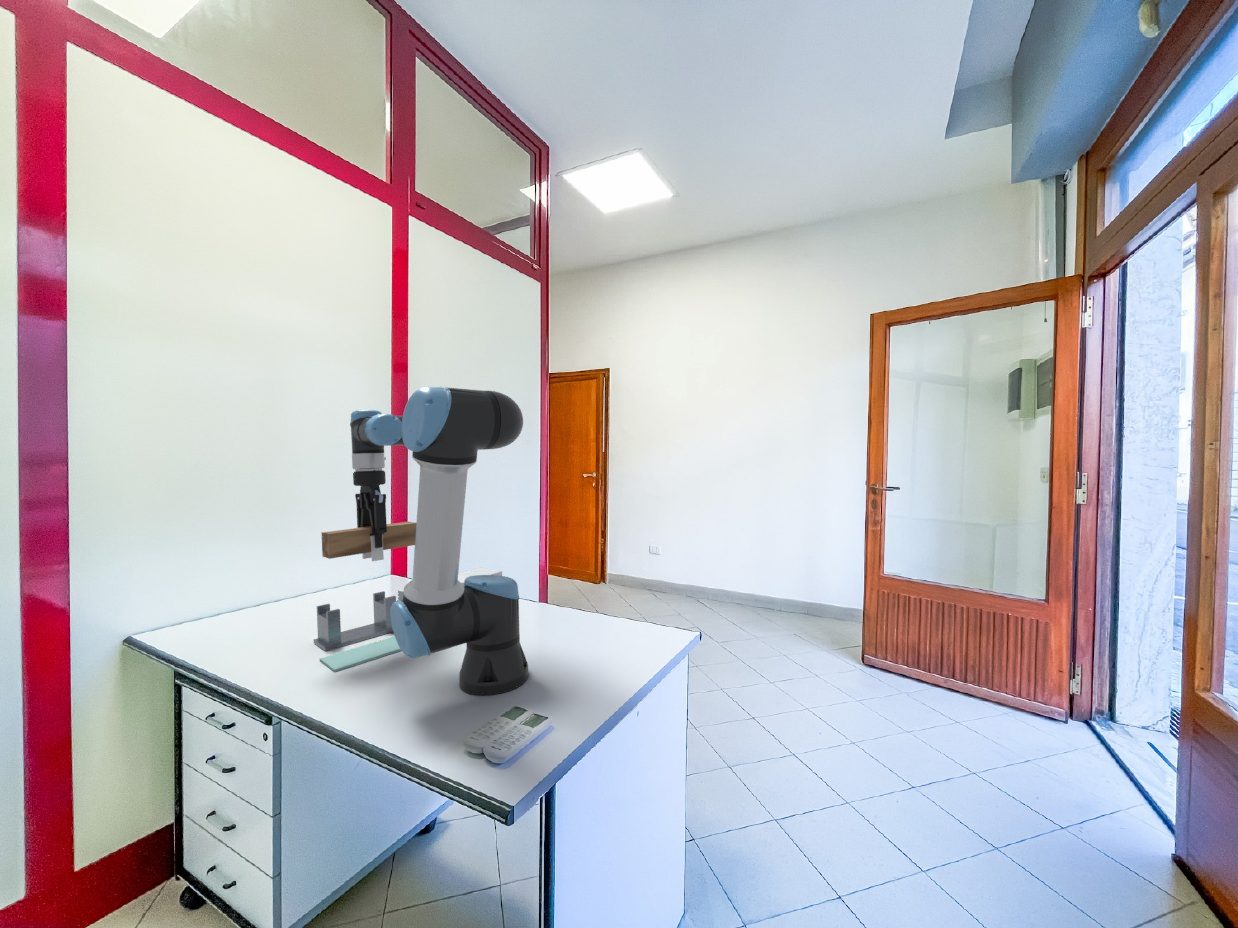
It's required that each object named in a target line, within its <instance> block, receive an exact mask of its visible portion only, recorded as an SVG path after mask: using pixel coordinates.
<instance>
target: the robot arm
mask: <svg viewBox="0 0 1238 928" xmlns="http://www.w3.org/2000/svg"><path fill="white" fill-rule="evenodd" d="M406 402H407V403H406V404H405V407H404V410H403V414H402V415H394V414H391V413H382V412H381V411H379V410H374V409H373V410H372V409H358V410H353V411H352V412H351V413H350V423H349V425H350V434H351V435H350V436H351V439H350V440H351V462H352V466H351V469H353V470H354V471H353V472H352V480H353V481H352V482H353V485H354V486H355V487H360V490H359V492H358V493H355V495H354V497H355V501H356V502H355V503H356V523H357V524H356V525H357V527H356V528H361V527H369V526H371V529H372V533H371V534H369V535H370V536H371V552H368V553H362V559H363V560H365V559H371V562H377V561H383V560H384V550H383V534H384V533H385V532H387V508H386V507H387V506H386V502H387V501H386V500H387V494H386V493H382V492H381V488H380V485H382V486H383V485H385V484H386V471H385V470H383V469H384V468H386V467H385V466H386V459H387V458H386V457H385V447H386V446H391V447H392V446H393V447H394V446H404V447H405V448H406V449H407V450H408V451H411V452H412V453H411V454H412V455H411V456H412V460H413V461H415V462H416V463H417V464H418V465H419V468H420V469H419V480H418V481H419V483H418V494H417V496H418V497H417V509H416V511H417V512H416V522H415V523H416V536H415V545H414V553H413V565H412V568H413V569H412V579H411V580H410V581H409V582H408V583H406V585H405V586H404V588H403V589H404V591H403V600H397V599H396V602H394V603H393V604H392V606H391V611H390V615H391V623H392V628H393V632H392V633H393V635H394V636H395V638H396V641H397V643H398V645H399V647H400V649H401V651H400V652H402V654H404V655H405V656H406V657H408V658H411V659H416V658H420V657H423V656H431V655H432V654H434V653H437V652H440V651H445V650H447V649H451V648H454V647H457V646H461V645H464V644H466V649H465V653H464V656H463V660H462V663H461V667H460V670H459V675H458V680H459V683H458V685H459V687H460V689H461V690H462V691H464V692H465V693H468V694H472V695H478V696H490V695H491V696H492V695H498V694H503V693H506V692H510V691H512V690H515V689H517V688H519V687H520V686H522V685H523V684H525V682H526V681H527V680H528V679H529V664H528V661H527V658H526V655H525V653H524V650H523V648H522V644H521V641H520V639H521V638H520V636H521V635H520V634H521V633H520V602H519V601H520V593H519V586H518V583H517V581H516V580H515V579H513V578H511V577H509V576H504V575H502V576H498V575H475V576H470V577H467V578H466V579H465V581H464V585H465V586H463V584H462V583H461V582H460V581H459V580H458V574H459V571H460V569H459V568H460V557H461V547H462V546H461V545H462V538H463V537H462V535H463V525H464V513H465V503H466V490H467V482H468V481H467V480H468V470H469V469H470V468H471V467H472V466H474V465H475V464H476V463H477V462H478V461H477V459H478V453H479V452H478V451H480V450H481V451H482V450H483V451H484V450H495V449H502V448H505V447H507V446H509V445H511V444H512V443H514V442H515V441H516V440H517V439H518V438H519V436H520V435H521V433H522V430H523V427H524V418H523V417H524V415H523V413H522V410H521V408H520V406H519V405H518V404H517V403H516V401H515V400H514V399H513V398H512V397H510V396H509V395H506V394H504V393H502V392H499V391H495V390H482V389H481V390H480V389H468V388H458V387H447V386H428V387H427V386H424V387H420V388H417V389H416V390H415V391H413V393H412V394H411V395H410V397H409V398H408V400H407V401H406Z"/></svg>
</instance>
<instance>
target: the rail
mask: <svg viewBox="0 0 1238 928" xmlns="http://www.w3.org/2000/svg"><path fill="white" fill-rule="evenodd" d="M386 524H387V523H386ZM371 533H372V529H371V526H369V527H361V528H357V527H356V528H354V527H353V528H347V529H340V530H339V529H338V530H331V531H322V532H321V553H322V557H323V558H326V559H330V560H331V559H336V558H343V557H349V556H354V555H361V554H362V553H368V552H371V536H370V535H369V534H371ZM415 536H416V522H415V521H401V522H395V523H388V524H387V532H385V533H384V534H383V551H387V550H392V549H399V548H405V547H410V546H415Z"/></svg>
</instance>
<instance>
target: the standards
mask: <svg viewBox="0 0 1238 928" xmlns="http://www.w3.org/2000/svg"><path fill="white" fill-rule="evenodd" d="M372 597H373V599H372V602H373V623H370V624H367V625H362V626H359V627H355V628H351V629H347V630H343V631H341V629H342V628H341V609H339V608H336V609H332V610H331V604H330V603H325V604H321V605H317V606H316V623H317V624H316V625H317V638H314V639H313V640H312V641H313V644H314V643H315V644H314V645H316V646H317V647H318V648H320V650H323V651H324V652H327V651H331V650H335V649H339V648H342V647H345V646H349V645H352V644H356V643H359V642H363V641H366V640H369V639H373V638H376V637H381V636H383V635H386V634H387V635H388V634H390V633H391V634H392V633H394V632H393V628H392V623H391V615H390V611H391V606H392V604H393V603H394V602H396V601H397V596H396V595H392V596H388V597H386V592H385V591H379V592H375V593H372Z"/></svg>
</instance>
